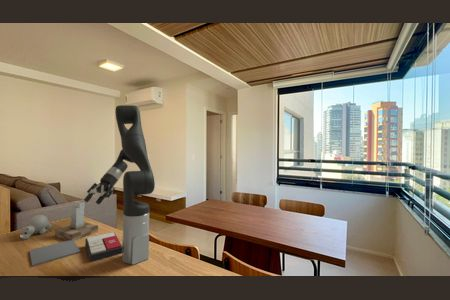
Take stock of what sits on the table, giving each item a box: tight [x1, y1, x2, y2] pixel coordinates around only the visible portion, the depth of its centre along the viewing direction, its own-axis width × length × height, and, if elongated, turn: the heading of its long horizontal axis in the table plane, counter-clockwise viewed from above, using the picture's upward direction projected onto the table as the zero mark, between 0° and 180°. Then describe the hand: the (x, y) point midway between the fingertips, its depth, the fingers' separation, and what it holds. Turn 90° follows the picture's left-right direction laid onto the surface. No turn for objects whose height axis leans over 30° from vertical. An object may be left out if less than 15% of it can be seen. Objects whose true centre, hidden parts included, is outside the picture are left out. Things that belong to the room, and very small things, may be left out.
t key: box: [70, 200, 86, 230], centre depth 98 cm, size 6×4×15 cm, turn 69°
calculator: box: [84, 232, 122, 263], centre depth 85 cm, size 11×4×15 cm
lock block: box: [54, 221, 99, 242], centre depth 98 cm, size 12×12×3 cm
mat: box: [28, 240, 82, 268], centre depth 82 cm, size 14×14×1 cm
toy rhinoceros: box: [19, 214, 53, 240], centre depth 95 cm, size 7×12×8 cm, turn 171°
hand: (91, 202), depth 104 cm, fingers open, 8 cm apart
